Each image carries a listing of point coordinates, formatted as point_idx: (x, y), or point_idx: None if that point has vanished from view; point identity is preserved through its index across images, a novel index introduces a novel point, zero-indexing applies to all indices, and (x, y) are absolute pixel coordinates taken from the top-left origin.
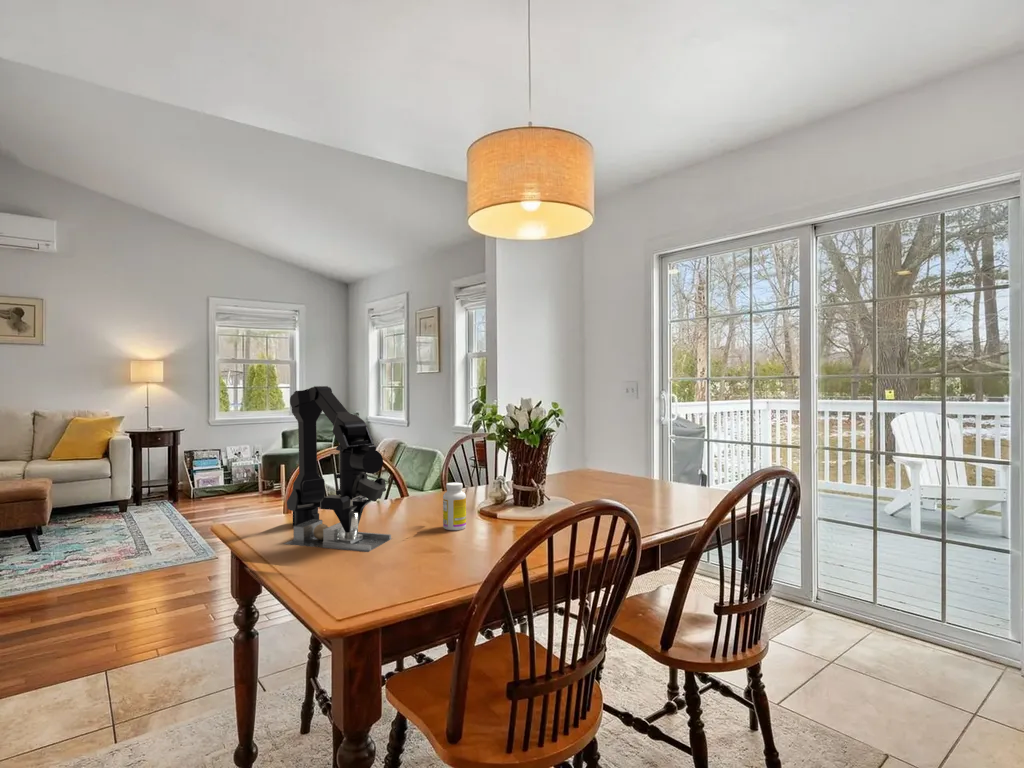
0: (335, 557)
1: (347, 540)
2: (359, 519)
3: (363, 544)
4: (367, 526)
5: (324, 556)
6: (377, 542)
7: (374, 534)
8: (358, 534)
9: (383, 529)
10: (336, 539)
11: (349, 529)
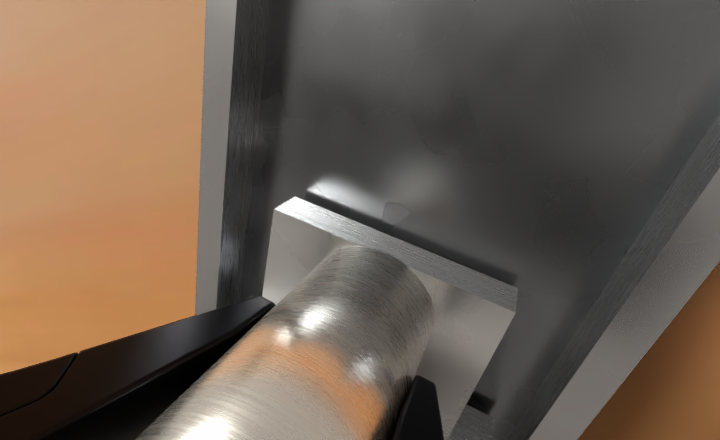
0: (687, 363)
1: (496, 340)
2: (162, 339)
3: (466, 156)
4: (6, 217)
5: (626, 435)
6: (388, 5)
7: (234, 90)
8: (277, 251)
9: (4, 112)
10: (447, 427)
11: (432, 408)
